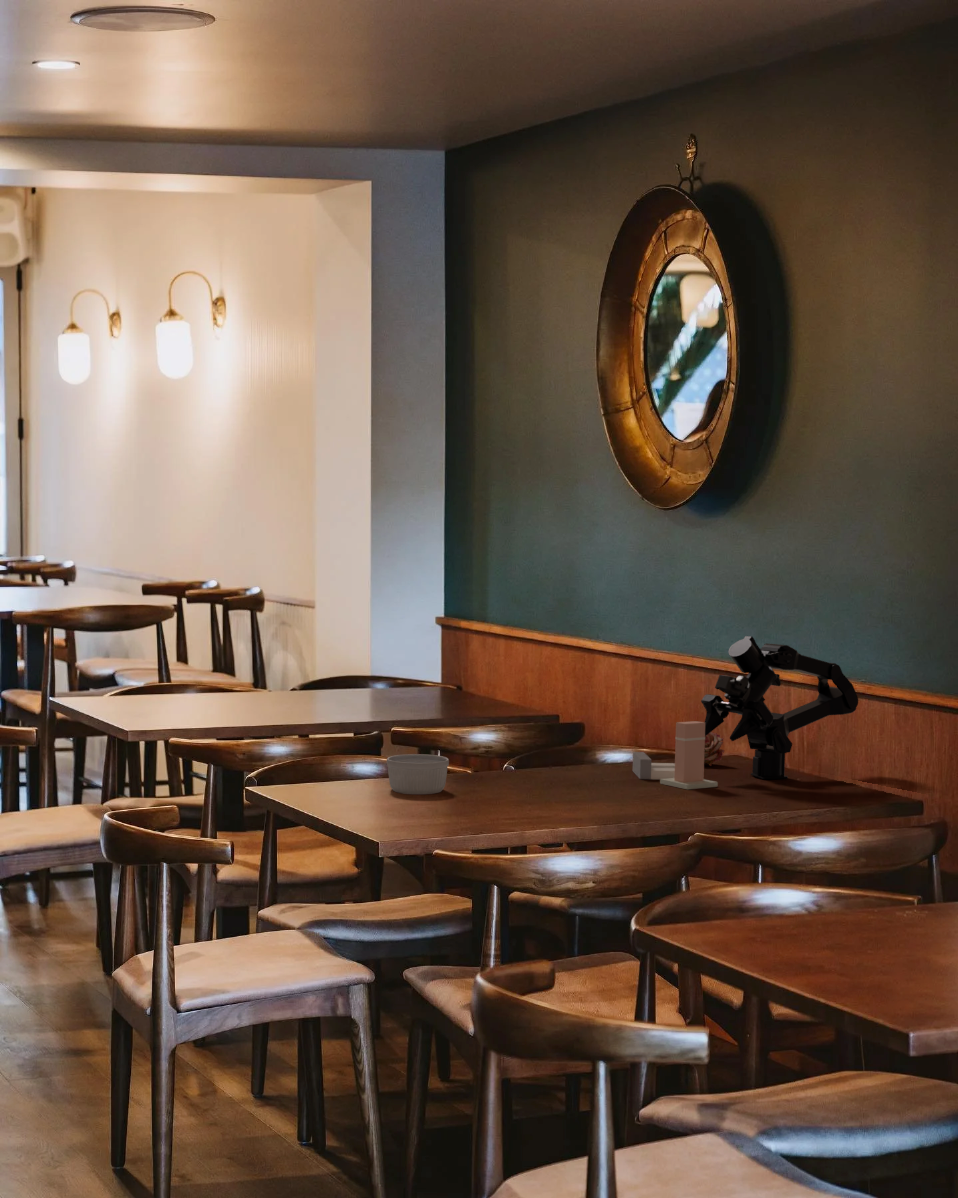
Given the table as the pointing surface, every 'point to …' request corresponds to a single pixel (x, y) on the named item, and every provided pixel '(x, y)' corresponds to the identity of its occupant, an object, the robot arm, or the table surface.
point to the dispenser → (651, 767)
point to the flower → (712, 748)
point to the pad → (689, 783)
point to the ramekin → (417, 773)
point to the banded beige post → (689, 751)
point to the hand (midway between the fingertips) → (716, 737)
